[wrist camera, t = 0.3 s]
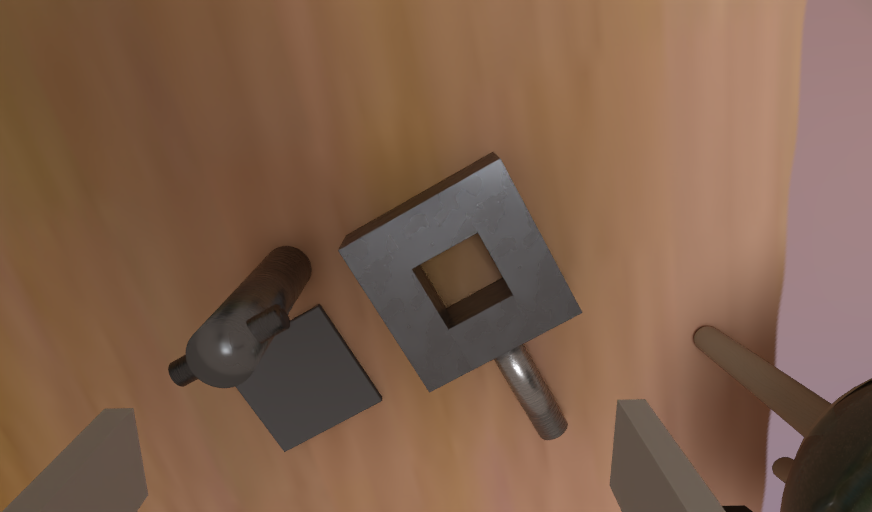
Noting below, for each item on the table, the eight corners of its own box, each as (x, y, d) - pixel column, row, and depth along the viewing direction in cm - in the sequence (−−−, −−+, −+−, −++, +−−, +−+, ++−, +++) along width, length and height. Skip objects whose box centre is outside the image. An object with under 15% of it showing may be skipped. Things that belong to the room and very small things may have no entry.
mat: (220, 359, 44) (217, 362, 44) (319, 304, 43) (318, 306, 42) (286, 448, 46) (284, 451, 46) (382, 397, 45) (381, 400, 45)
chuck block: (346, 235, 42) (338, 250, 38) (492, 152, 40) (500, 158, 36) (484, 453, 47) (489, 485, 43) (618, 386, 45) (636, 413, 42)
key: (238, 270, 42) (146, 359, 28) (312, 227, 41) (255, 297, 27) (264, 308, 43) (188, 412, 29) (337, 267, 42) (295, 354, 28)
